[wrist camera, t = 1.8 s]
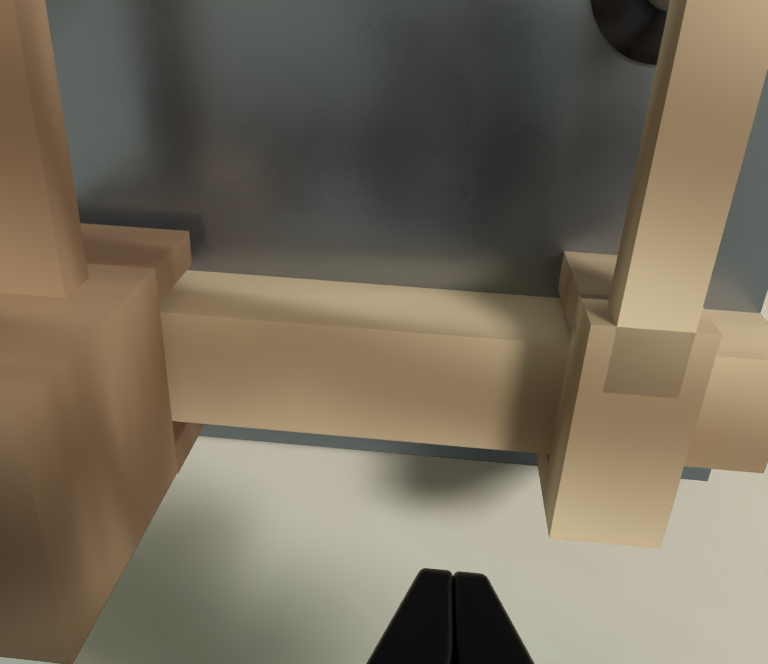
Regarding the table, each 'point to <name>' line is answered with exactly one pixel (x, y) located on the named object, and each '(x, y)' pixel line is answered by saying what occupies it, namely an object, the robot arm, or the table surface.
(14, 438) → the slider leg
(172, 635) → the table surface
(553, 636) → the table surface
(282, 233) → the steel plate
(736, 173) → the compass bar
